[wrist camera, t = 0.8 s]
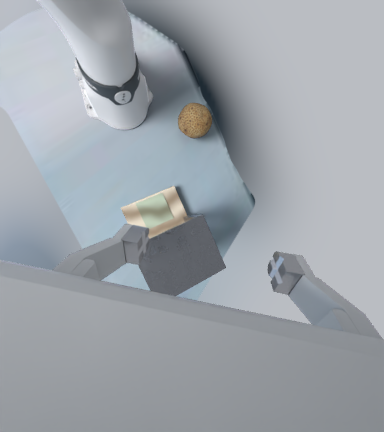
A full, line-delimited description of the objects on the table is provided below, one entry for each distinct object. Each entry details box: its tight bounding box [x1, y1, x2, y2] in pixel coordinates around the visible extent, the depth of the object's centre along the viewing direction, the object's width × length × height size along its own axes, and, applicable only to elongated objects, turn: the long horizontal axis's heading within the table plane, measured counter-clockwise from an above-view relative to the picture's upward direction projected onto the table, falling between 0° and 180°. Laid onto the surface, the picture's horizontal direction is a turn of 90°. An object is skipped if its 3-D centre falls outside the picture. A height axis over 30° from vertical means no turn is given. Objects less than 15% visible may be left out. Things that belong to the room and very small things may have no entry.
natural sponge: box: [178, 103, 212, 138], centre depth 47 cm, size 9×9×10 cm
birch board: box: [121, 186, 187, 238], centre depth 49 cm, size 25×16×2 cm, turn 24°
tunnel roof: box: [139, 214, 226, 296], centre depth 40 cm, size 12×15×16 cm
